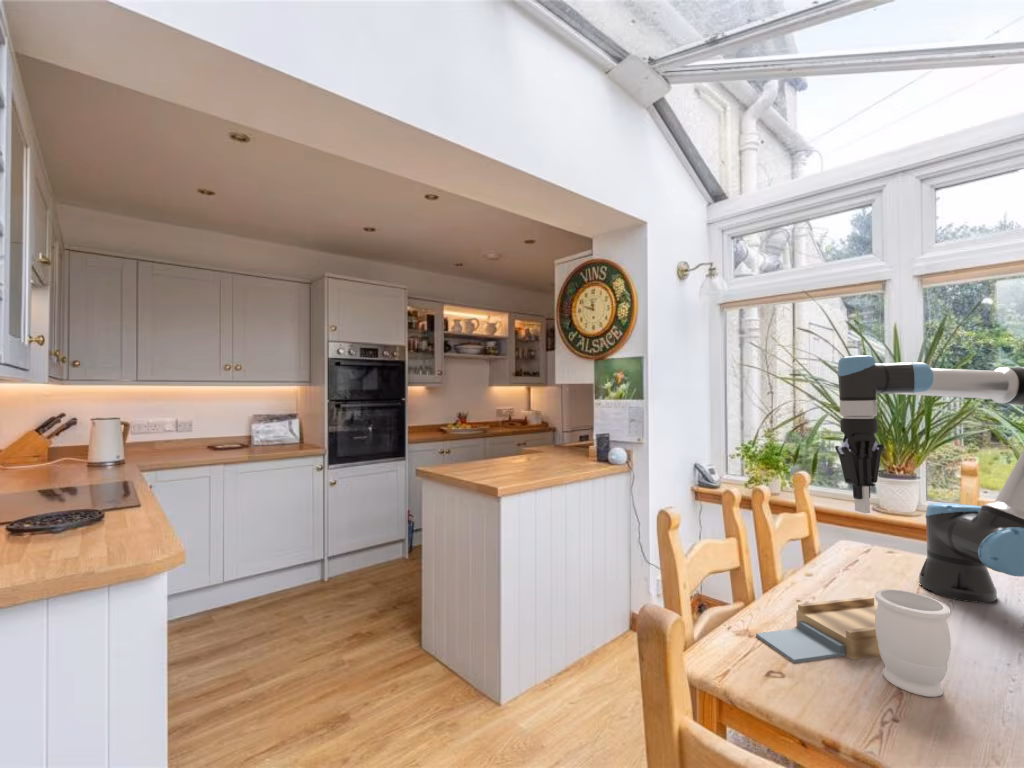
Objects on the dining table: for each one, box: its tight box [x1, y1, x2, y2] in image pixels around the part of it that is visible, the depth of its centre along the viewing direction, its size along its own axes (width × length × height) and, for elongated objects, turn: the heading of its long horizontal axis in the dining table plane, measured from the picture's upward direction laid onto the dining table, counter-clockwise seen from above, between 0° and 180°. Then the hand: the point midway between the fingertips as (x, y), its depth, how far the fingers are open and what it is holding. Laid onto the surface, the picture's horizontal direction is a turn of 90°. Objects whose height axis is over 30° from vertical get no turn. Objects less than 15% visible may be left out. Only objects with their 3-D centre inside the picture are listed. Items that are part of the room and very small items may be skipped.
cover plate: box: [755, 621, 846, 664], centre depth 99 cm, size 12×10×3 cm
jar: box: [874, 588, 952, 698], centre depth 86 cm, size 11×10×15 cm
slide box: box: [795, 596, 881, 660], centre depth 103 cm, size 20×14×5 cm
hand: (862, 511), depth 118 cm, fingers closed
